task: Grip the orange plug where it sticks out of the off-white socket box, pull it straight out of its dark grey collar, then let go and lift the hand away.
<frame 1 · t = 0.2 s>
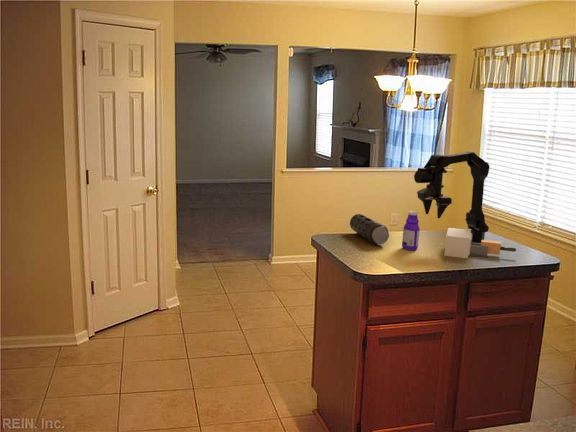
hand: (432, 216, 272), 15 cm above the countertop, tool pointing down, fingers open, 9 cm apart
plug: (494, 247, 261), point 4 cm above the countertop, slide at 0.0 cm
socket box: (487, 255, 262), on the countertop
muzzle brake: (368, 240, 283), on the countertop
bottle: (409, 249, 269), on the countertop
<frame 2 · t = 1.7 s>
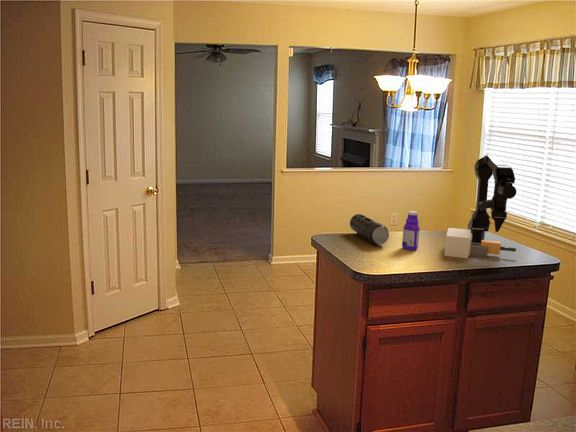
hand: (496, 229, 259), 12 cm above the countertop, tool pointing down, fingers open, 9 cm apart
nothing on the countertop moved.
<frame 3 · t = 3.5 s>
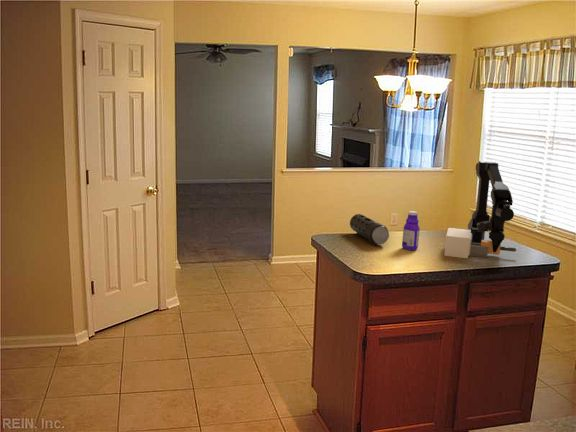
hand: (494, 250, 261), 3 cm above the countertop, tool pointing down, fingers closed on plug, 4 cm apart
plug: (494, 247, 261), point 4 cm above the countertop, slide at 0.0 cm, touching gripper
everything else where it was.
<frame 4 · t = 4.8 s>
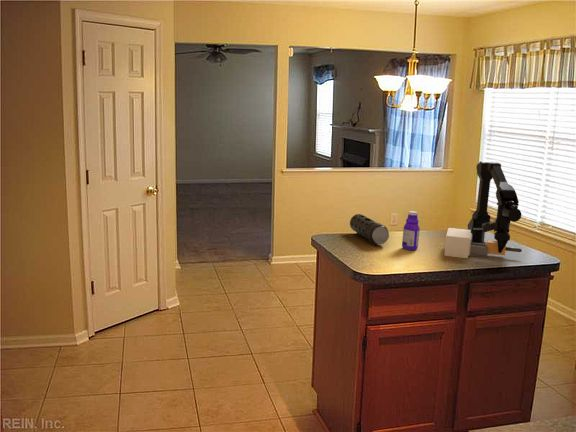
hand: (499, 251, 260), 3 cm above the countertop, tool pointing down, fingers closed on plug, 4 cm apart
plug: (500, 248, 260), point 4 cm above the countertop, slide at 2.3 cm, touching gripper
everything else where it was.
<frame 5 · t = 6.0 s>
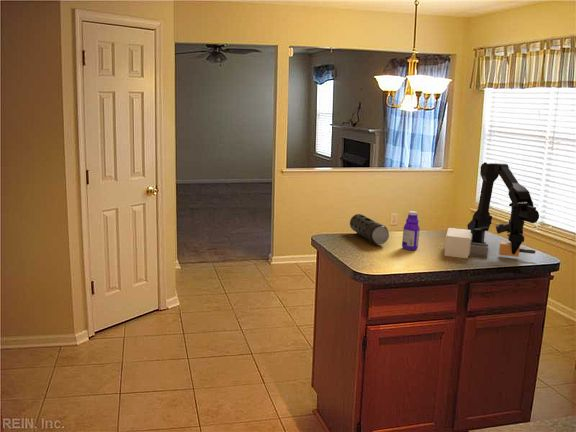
hand: (513, 252, 259), 3 cm above the countertop, tool pointing down, fingers closed on plug, 4 cm apart
plug: (513, 249, 258), point 4 cm above the countertop, slide at 7.9 cm, touching gripper
everything else where it was.
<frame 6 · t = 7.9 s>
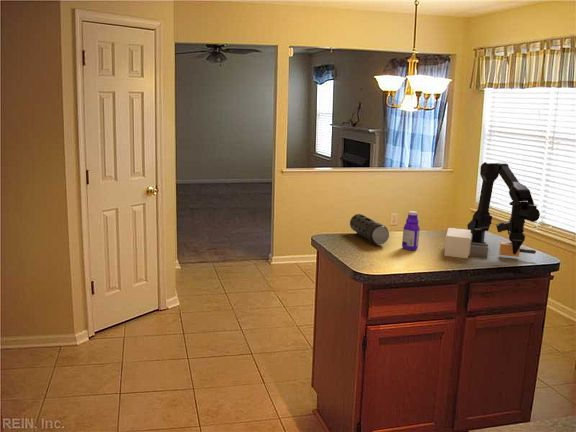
hand: (513, 251, 259), 3 cm above the countertop, tool pointing down, fingers open, 9 cm apart
plug: (514, 249, 258), point 4 cm above the countertop, slide at 8.0 cm
everything else where it was.
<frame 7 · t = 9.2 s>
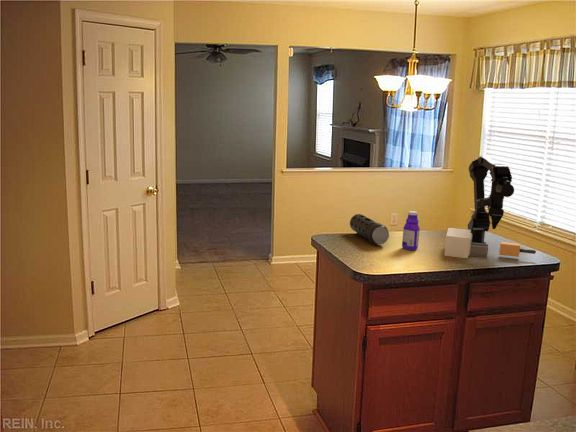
hand: (493, 226, 267), 12 cm above the countertop, tool pointing down, fingers open, 9 cm apart
nothing on the countertop moved.
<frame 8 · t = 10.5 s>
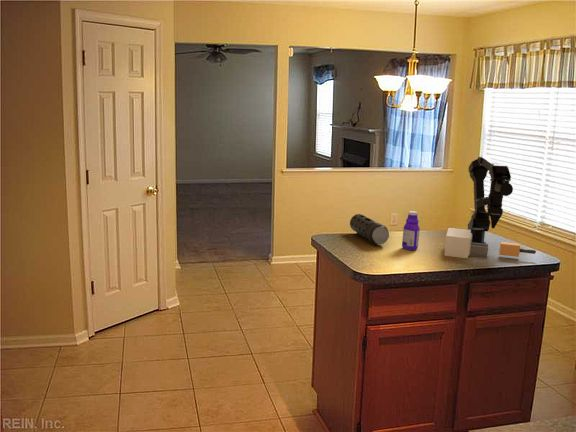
hand: (492, 226, 267), 12 cm above the countertop, tool pointing down, fingers open, 9 cm apart
nothing on the countertop moved.
at the end: plug slide at 8.0 cm; the gripper is holding nothing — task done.
